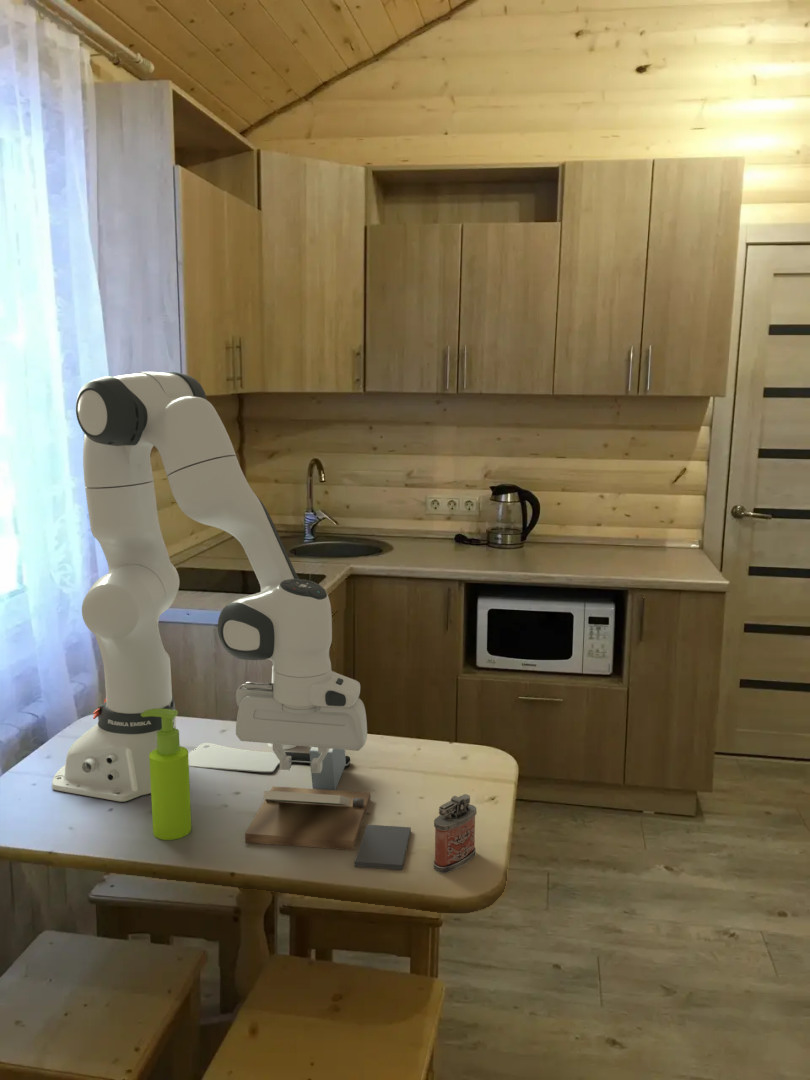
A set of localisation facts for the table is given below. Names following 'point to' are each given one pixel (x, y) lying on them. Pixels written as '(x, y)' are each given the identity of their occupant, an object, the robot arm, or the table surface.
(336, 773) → the grey rectangular prism
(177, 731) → the soap dispenser
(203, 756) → the kitchen cleaver
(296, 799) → the tile
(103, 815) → the table surface
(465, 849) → the lighter
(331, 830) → the hinge board
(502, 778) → the table surface
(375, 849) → the pad
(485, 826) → the table surface
